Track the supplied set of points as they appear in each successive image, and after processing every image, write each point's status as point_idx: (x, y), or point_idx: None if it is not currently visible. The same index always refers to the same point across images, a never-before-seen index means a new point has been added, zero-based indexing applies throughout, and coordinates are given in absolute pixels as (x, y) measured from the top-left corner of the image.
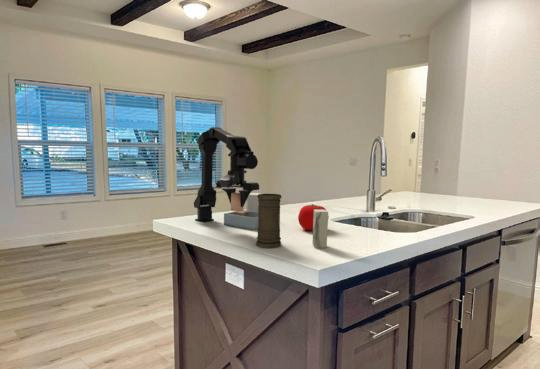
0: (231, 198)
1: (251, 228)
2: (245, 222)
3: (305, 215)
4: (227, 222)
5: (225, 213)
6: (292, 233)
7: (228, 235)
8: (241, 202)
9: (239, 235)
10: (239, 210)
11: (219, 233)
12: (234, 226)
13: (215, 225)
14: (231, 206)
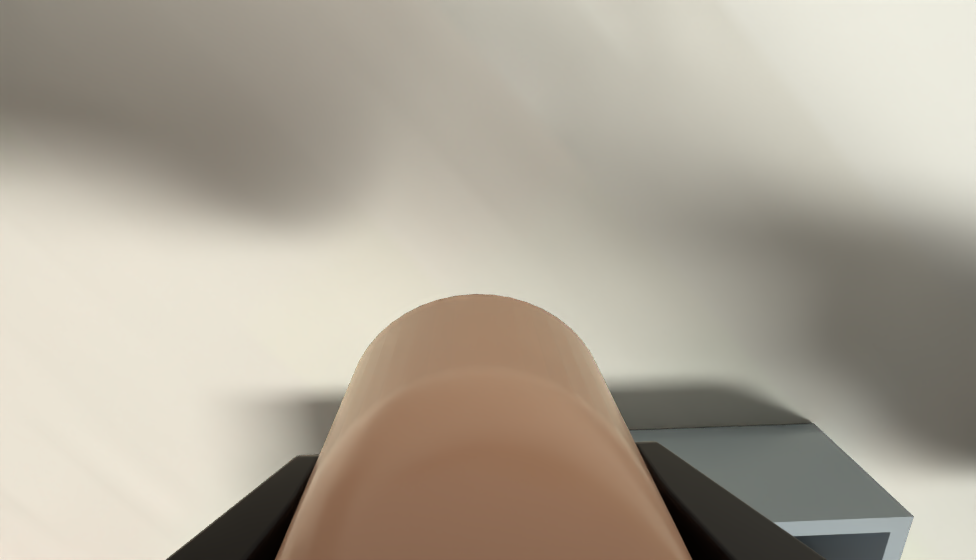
0: (591, 504)
1: None
2: None
3: None
4: (778, 444)
5: (895, 529)
6: (31, 554)
7: (402, 53)
8: (231, 529)
9: (309, 147)
10: (353, 375)
11: (564, 59)
12: (661, 429)
13: (870, 340)
14: (541, 344)
